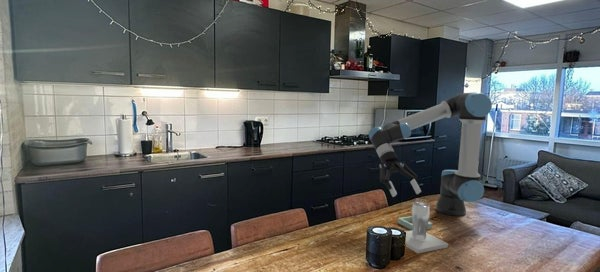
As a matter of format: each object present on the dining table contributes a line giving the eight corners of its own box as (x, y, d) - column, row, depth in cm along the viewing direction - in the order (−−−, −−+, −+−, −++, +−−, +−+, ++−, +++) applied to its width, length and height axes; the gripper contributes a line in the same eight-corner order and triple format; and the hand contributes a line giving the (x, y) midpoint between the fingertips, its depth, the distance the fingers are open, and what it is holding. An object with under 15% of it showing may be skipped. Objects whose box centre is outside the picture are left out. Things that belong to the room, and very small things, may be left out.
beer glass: (424, 243, 129) (427, 207, 128) (407, 238, 134) (410, 204, 132) (429, 238, 135) (432, 203, 133) (413, 233, 139) (415, 200, 138)
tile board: (419, 232, 145) (419, 229, 144) (447, 247, 130) (448, 243, 130) (390, 237, 138) (391, 233, 138) (417, 253, 124) (418, 249, 124)
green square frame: (415, 220, 160) (415, 215, 160) (432, 228, 150) (432, 223, 149) (397, 222, 155) (398, 218, 155) (414, 231, 145) (414, 226, 145)
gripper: (403, 158, 160) (423, 195, 148) (361, 160, 150) (380, 200, 138) (411, 149, 154) (433, 187, 142) (369, 151, 144) (388, 192, 132)
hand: (407, 194), depth 140 cm, fingers open, 13 cm apart
